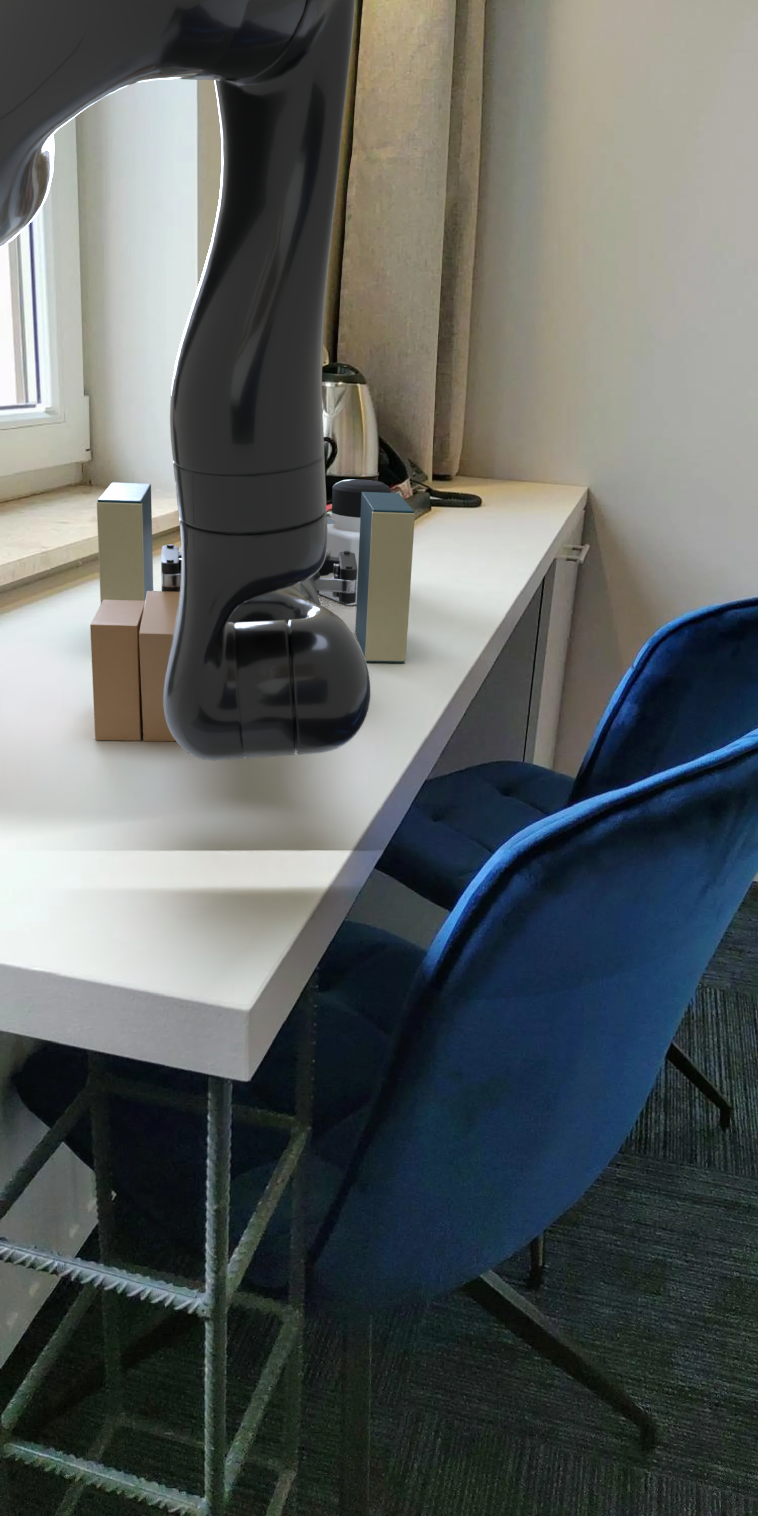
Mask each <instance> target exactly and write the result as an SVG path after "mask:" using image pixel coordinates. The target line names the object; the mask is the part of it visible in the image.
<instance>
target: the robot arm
mask: <svg viewBox="0 0 758 1516" xmlns="http://www.w3.org/2000/svg"><path fill="white" fill-rule="evenodd" d="M355 15H356V0H0V249H2V248H3V247H4V246H5V245H8V243H10V242H12V241H13V240H14V239H15V238H16V237H17V236H18V235H20V233H22V231H24V230H25V228H26V227H28V225H30V223H32V222H33V220H34V219H35V218H37V216H38V214H39V212H40V211H41V209H42V207H43V205H44V203H45V201H46V199H47V197H48V194H49V191H50V188H51V183H52V178H53V175H54V161H55V158H54V157H55V138H54V137H55V136H54V134H55V133H56V132H57V131H58V130H59V129H60V128H62V127H63V126H65V125H66V124H67V123H69V122H70V121H71V120H73V119H74V118H75V117H77V116H78V115H79V114H80V113H82V112H84V110H85V111H86V109H87V108H89V107H90V106H92V105H94V104H95V103H97V102H98V101H100V100H102V99H104V98H105V97H107V96H109V95H111V94H113V93H116V92H117V91H119V90H121V89H123V88H126V87H128V86H131V85H134V84H137V83H142V82H144V83H145V82H150V81H159V80H174V79H177V80H188V81H189V80H194V81H213V82H214V88H215V94H216V100H217V101H216V102H217V108H218V116H219V125H220V138H221V172H220V188H219V196H218V197H219V199H218V204H217V205H218V206H217V210H216V217H215V222H214V227H213V232H212V237H211V242H210V245H209V249H208V253H207V255H206V260H205V263H204V267H203V271H202V273H201V277H200V281H199V283H198V286H197V290H196V293H195V297H194V299H193V302H192V305H191V309H190V310H189V311H190V312H189V315H188V318H187V321H186V324H185V327H184V330H183V334H182V337H181V341H180V344H179V348H178V352H177V355H176V360H175V364H174V371H173V375H172V382H171V391H170V403H169V404H170V405H169V430H170V431H169V432H170V444H171V445H170V446H171V455H172V466H173V467H172V468H173V474H174V475H173V476H174V484H175V485H174V486H175V495H176V505H177V513H178V522H179V534H180V547H179V546H178V545H174V544H171V543H168V544H165V545H162V546H161V554H160V555H161V556H160V558H161V560H160V569H161V571H160V573H161V574H160V577H161V578H160V580H161V582H160V583H161V591H169V592H180V594H179V601H178V608H177V615H176V621H175V626H174V631H173V635H172V640H171V645H170V650H169V654H168V659H167V664H166V669H165V675H164V682H163V692H162V704H163V713H164V717H165V721H166V724H167V726H168V729H169V731H170V733H171V734H172V736H173V737H174V739H175V740H176V741H175V742H176V743H177V744H178V745H179V746H180V748H182V749H183V750H184V751H185V752H186V753H188V754H189V755H191V756H192V757H194V758H196V759H199V760H206V761H229V760H230V761H232V760H242V759H253V758H254V759H255V758H270V757H284V756H295V755H296V754H297V755H316V754H322V753H323V754H325V753H327V752H332V751H336V750H338V749H340V748H342V747H343V746H345V745H346V744H348V743H349V742H350V741H351V740H352V739H354V738H355V736H356V735H357V734H358V733H359V732H360V730H361V729H362V727H363V725H364V723H365V721H366V719H367V716H368V712H369V709H370V704H371V678H370V671H369V668H368V662H366V660H365V657H364V655H363V652H362V649H361V646H360V644H359V641H358V639H357V638H356V635H355V634H354V633H353V632H352V630H351V629H350V627H349V626H348V624H346V622H345V621H344V620H343V619H341V617H340V616H339V615H337V614H336V613H334V612H333V611H331V610H330V609H328V608H326V607H325V606H322V605H321V602H320V597H319V595H320V594H319V592H320V591H326V592H333V593H332V597H334V598H338V597H339V603H341V602H342V603H341V604H343V603H344V605H346V604H351V603H355V602H356V585H357V563H356V558H355V553H352V552H350V551H344V552H339V557H332V556H330V550H327V545H328V529H327V524H328V514H327V513H328V511H327V507H328V506H327V488H326V487H327V485H326V462H325V461H326V459H325V437H324V434H325V433H324V420H323V419H324V418H323V415H324V414H323V354H324V353H323V351H324V350H323V349H324V333H325V331H324V329H325V315H326V314H325V312H326V301H327V300H326V299H327V286H328V275H329V265H330V257H331V248H332V237H333V229H334V217H335V210H336V200H337V191H338V180H339V171H340V160H341V150H342V138H343V127H344V118H345V109H346V102H347V101H346V100H347V92H348V91H347V90H348V83H349V73H350V65H351V56H352V47H353V37H354V27H355V26H354V25H355ZM179 548H180V549H179ZM179 550H180V551H179Z"/></svg>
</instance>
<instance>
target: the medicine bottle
mask: <svg viewBox="0 0 758 1516" xmlns="http://www.w3.org/2000/svg"><path fill="white" fill-rule="evenodd" d="M331 492H332V494H331V495H332V496H331V498H332V499H331V520H332V521H333V522H334V523H327V529H328V545H327V550H330V556H332V557H339V552H344V551H350V552H352V553H355V558H356V563H357V583H358V561H359V539H360V517H361V495H362V492H380V493H392V489H391V487H390V486H389V485H388V484H385V483H384V482H381V481H379V480H371V479H359V478H358V479H343V480H340V481H338V482H335V484H333V486H332V491H331ZM332 593H333V592H326V591H320V592H319V594H318V595H321V596H323V597H326V598H329V599H331V600H333V601H336V602H339V597H338V598H334V597H332ZM339 603H341V604H344V603H342V602H339ZM356 604H357V585H356V602H355V603H351V604H344V605H346V606H354V605H355V606H356Z"/></svg>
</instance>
